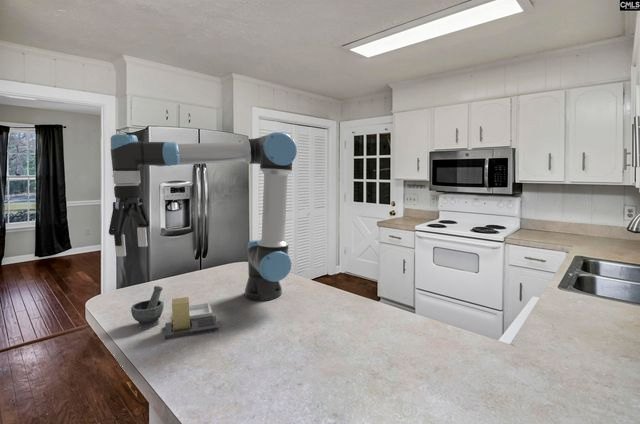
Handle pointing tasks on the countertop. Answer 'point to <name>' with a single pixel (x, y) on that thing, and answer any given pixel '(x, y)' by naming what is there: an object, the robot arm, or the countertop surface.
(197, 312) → the white tray
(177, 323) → the brass block
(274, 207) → the robot arm
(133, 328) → the countertop surface
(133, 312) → the mortar and pestle
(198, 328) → the dark grey flat slab
